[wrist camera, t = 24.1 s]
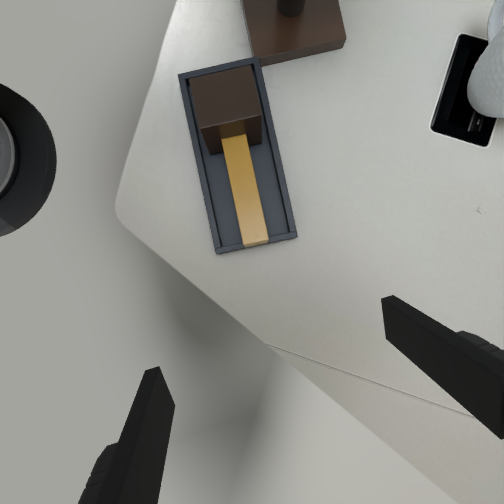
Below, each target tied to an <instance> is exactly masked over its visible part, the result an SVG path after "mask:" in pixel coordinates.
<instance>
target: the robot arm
mask: <svg viewBox="0 0 504 504" xmlns="http://www.w3.org/2000/svg"><path fill="white" fill-rule="evenodd" d="M19 167H20V147H19V143H18V139H17V137H16V134H15V132H14V130H13V129H12V127H11V126H10V124H9V123H8V122H7V121H6V120H5V119H4V118H3V117H2V116H1V115H0V199H1V198H3V197H4V196H5V195H6V193H7V192H8V191H9V190H10V188H11V187H12V185H13V183H14V182H15V180H16V177H17V174H18V171H19ZM381 303H382V311H383V319H384V327H385V335H386V339H387V340H388V341H389V342H390V343H391V344H393V345H394V346H395V347H396V348H397V349H398V350H399V351H401V352H402V353H403V354H404V355H405V356H406V357H407V358H409V359H410V360H411V361H412V362H413V363H414V364H415V365H416V366H418V367H419V368H420V369H421V370H422V371H423V372H424V373H426V374H427V375H428V376H429V377H430V378H431V379H432V380H434V381H435V382H436V383H437V384H438V385H439V386H440V387H442V388H443V389H444V390H445V391H446V392H447V393H448V394H449V395H451V396H452V397H453V398H454V399H455V400H456V401H457V402H459V403H460V404H461V405H462V406H463V407H464V408H465V409H467V410H468V411H469V412H470V413H471V414H472V415H473V416H475V417H476V418H477V419H478V420H479V421H480V422H481V423H482V424H484V425H485V426H486V427H487V428H488V429H489V430H490V431H492V432H493V433H494V434H495V435H496V436H497V437H498V438H500V439H501V440H502V439H504V350H500V348H499V347H497V346H495V345H493V344H490V343H489V342H488V341H486V340H484V339H483V338H481V337H479V336H477V335H474V334H471V333H468V332H465V331H460V332H457V333H456V332H454V331H452V330H451V329H449V328H447V327H446V326H444V325H442V324H441V323H439V322H437V321H436V320H434V319H432V318H431V317H429V316H427V315H426V314H424V313H422V312H421V311H419V310H417V309H416V308H414V307H412V306H411V305H409V304H407V303H406V302H404V301H402V300H401V299H399V298H397V297H396V296H394V295H392V296H388V297H385V298H382V299H381ZM174 409H175V404H174V401H173V399H172V396H171V394H170V391H169V389H168V387H167V384H166V382H165V380H164V377H163V374H162V372H161V369H160V367H159V366H158V367H155V368H152V369H149V370H146V371H145V373H144V375H143V378H142V380H141V383H140V386H139V388H138V391H137V394H136V396H135V399H134V402H133V404H132V407H131V410H130V412H129V415H128V417H127V420H126V423H125V425H124V428H123V431H122V433H121V436H120V439H119V441H118V442H117V443H114V444H111V445H108V446H107V447H106V448H105V449H104V451H103V452H102V453H101V455H100V456H99V457H98V459H97V461H96V463H95V465H94V467H93V470H92V472H91V476H90V477H89V479H88V482H87V484H86V488H85V489H84V491H83V493H82V495H81V498H80V500H79V502H78V504H157V503H158V498H159V493H160V487H161V481H162V475H163V470H164V465H165V459H166V454H167V448H168V443H169V437H170V431H171V426H172V420H173V415H174Z"/></svg>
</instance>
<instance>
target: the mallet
mask: <svg viewBox="0 0 504 504" xmlns="http://www.w3.org/2000/svg"><path fill="white" fill-rule="evenodd" d="M189 82H190V87H191V92H192V96H193V101H194V106H195V111H196V116H197V121H198V126H199V130H200V132H201V135H202V137H203V139H204V141H205V144H206V146H207V148H208V151H209V153H210V154H213V153H218V152H222V151H224V155H225V159H226V164H227V169H228V174H229V179H230V183H231V188H232V193H233V198H234V202H235V207H236V212H237V217H238V222H239V226H240V231H241V236H242V241H243V245H244V246H245V248H246V247H250V246H255V245H260V244H264V243H268V240H269V238H268V233H267V229H266V224H265V220H264V215H263V210H262V206H261V201H260V197H259V192H258V188H257V183H256V178H255V174H254V169H253V165H252V160H251V156H250V151H249V145H254V144H258V143H262V112H261V108H260V103H259V99H258V95H257V90H256V86H255V81H254V77H253V73H252V68H251V65H248V66H243V67H239V68H235V69H230V70H226V71H221V72H217V73H213V74H208V75H204V76H199V77H195V78H191V79H189Z"/></svg>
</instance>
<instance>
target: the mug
mask: <svg viewBox="0 0 504 504" xmlns="http://www.w3.org/2000/svg"><path fill="white" fill-rule="evenodd" d="M503 19H504V0H495V2H494V4H493V6H492V8H491V11H490V15H489V19H488V27H487V35H488V43H489V45H488V46H487V47H486V49H485V51H484V52H483V53H482V55H481V56H480V58H479V60H478V61H477V63H476V64H475V66H474V69H473V70H472V73H471V76H470V78H469V81H468V86H467V97H468V100H469V103H470V105H471V106H472V107H473V108H474V109H475V110H476V111H477V112H478V113H480V114H482V115H485V116H488V117H495V118H504V27H503Z"/></svg>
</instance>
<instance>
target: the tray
mask: <svg viewBox="0 0 504 504" xmlns="http://www.w3.org/2000/svg"><path fill="white" fill-rule="evenodd" d="M248 65H251V68H252V73H253V77H254V81H255V86H256V90H257V95H258V99H259V103H260V108H261V112H262V143H258V144H254V145H249V151H250V156H251V160H252V165H253V169H254V174H255V178H256V183H257V188H258V192H259V197H260V201H261V206H262V210H263V215H264V220H265V224H266V229H267V233H268V238H269V240H268V243H264V244H260V245H265V244H269V243H274V242H278V241H283V240H288V239H292V238H296V237H298V236H297V231H296V226H295V222H294V217H293V213H292V208H291V203H290V199H289V194H288V190H287V185H286V180H285V176H284V171H283V166H282V162H281V157H280V153H279V148H278V143H277V139H276V134H275V130H274V125H273V120H272V116H271V111H270V106H269V102H268V97H267V93H266V88H265V83H264V79H263V74H262V70H261V65H260V61H259V56H256V57H251V58H247V59H243V60H238V61H234V62H230V63H225V64H221V65H217V66H212V67H208V68H203V69H199V70H195V71H190V72H186V73H182V74H178V78H179V83H180V88H181V93H182V97H183V102H184V107H185V111H186V116H187V121H188V125H189V130H190V135H191V139H192V144H193V149H194V153H195V158H196V163H197V167H198V172H199V177H200V182H201V186H202V191H203V196H204V200H205V205H206V210H207V214H208V219H209V224H210V228H211V233H212V238H213V242H214V247H215V252H216V254H223V253H227V252H232V251H237V250H241V249H246V248H251V247H255V246H260V245H255V246H250V247H246V248H245V246H244V245H243V241H242V236H241V231H240V226H239V222H238V217H237V212H236V207H235V202H234V198H233V193H232V188H231V183H230V179H229V174H228V169H227V164H226V159H225V155H224V151H222V152H218V153H213V154H210V153H209V151H208V148H207V146H206V144H205V141H204V139H203V137H202V135H201V132H200V130H199V126H198V121H197V116H196V111H195V106H194V101H193V96H192V92H191V87H190V82H189V79H191V78H195V77H199V76H204V75H208V74H213V73H217V72H221V71H226V70H230V69H235V68H239V67H243V66H248Z"/></svg>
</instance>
